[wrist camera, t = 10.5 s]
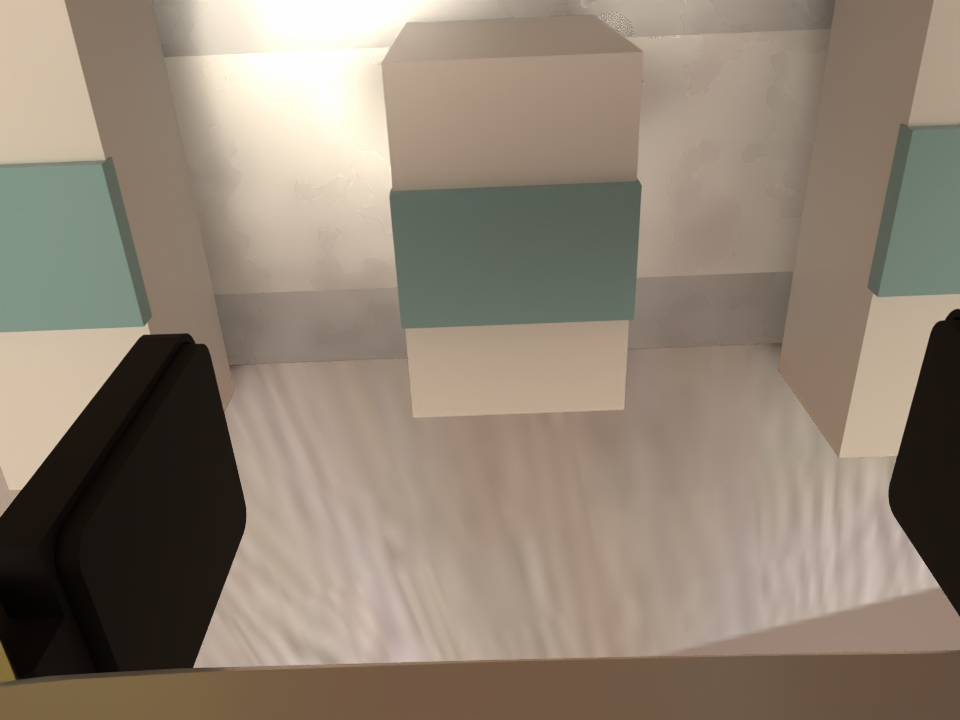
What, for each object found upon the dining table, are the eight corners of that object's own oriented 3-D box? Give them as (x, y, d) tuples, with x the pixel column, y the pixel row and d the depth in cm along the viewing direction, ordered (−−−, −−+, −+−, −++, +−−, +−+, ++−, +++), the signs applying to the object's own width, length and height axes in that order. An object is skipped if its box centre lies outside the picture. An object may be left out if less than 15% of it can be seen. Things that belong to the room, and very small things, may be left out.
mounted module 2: (1058, -132, 20) (1238, -148, 15) (931, 363, 27) (1030, 458, 22) (852, -123, 20) (968, -136, 16) (776, 370, 27) (842, 465, 22)
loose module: (595, 14, 22) (649, 53, 15) (587, 291, 25) (628, 416, 19) (404, 22, 22) (377, 64, 15) (425, 297, 25) (410, 424, 19)
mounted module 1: (134, -91, 20) (34, -95, 16) (236, 391, 27) (186, 490, 22) (-68, -82, 20) (-230, -83, 16) (82, 397, 27) (1, 497, 22)
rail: (1047, -87, 22) (1084, -88, 21) (944, 315, 28) (968, 335, 26) (-58, -39, 22) (-91, -36, 21) (65, 351, 28) (45, 372, 27)
